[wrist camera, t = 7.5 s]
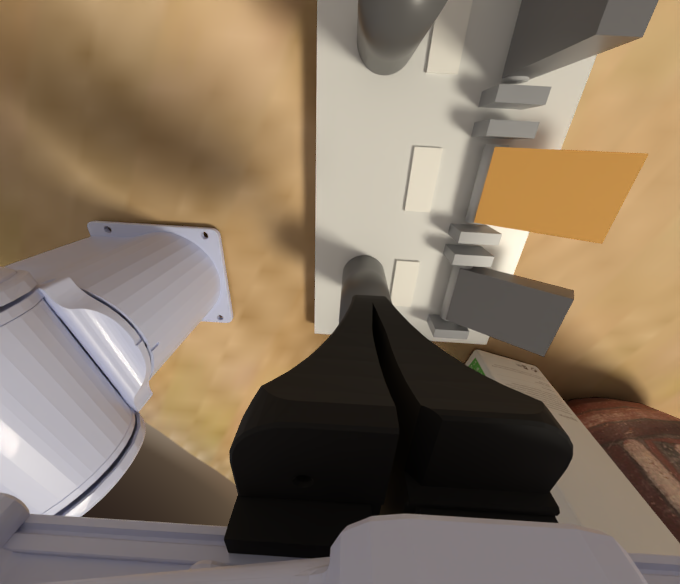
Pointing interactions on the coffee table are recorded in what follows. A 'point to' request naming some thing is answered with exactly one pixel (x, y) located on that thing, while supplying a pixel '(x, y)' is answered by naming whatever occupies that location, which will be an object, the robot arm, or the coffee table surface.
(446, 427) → the robot arm
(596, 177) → the block
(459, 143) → the breaker panel
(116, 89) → the coffee table surface
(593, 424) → the pottery
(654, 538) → the skincare box
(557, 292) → the paddle
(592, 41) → the paddle
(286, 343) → the coffee table surface
